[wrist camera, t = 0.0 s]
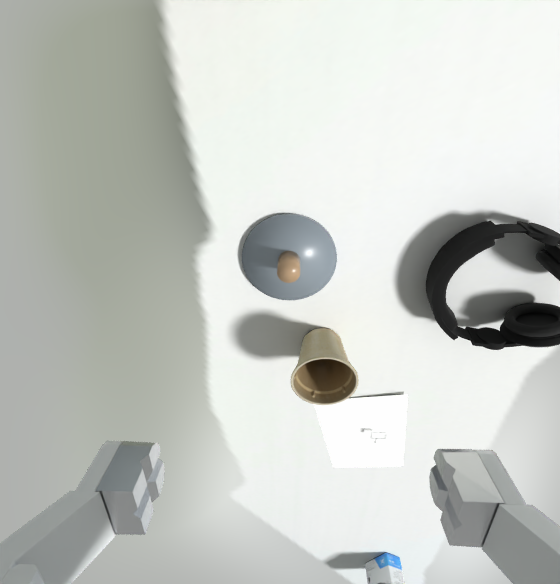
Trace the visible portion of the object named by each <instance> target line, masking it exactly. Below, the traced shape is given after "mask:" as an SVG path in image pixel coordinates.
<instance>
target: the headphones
mask: <svg viewBox="0 0 560 584" xmlns="http://www.w3.org/2000/svg"><path fill="white" fill-rule="evenodd" d="M504 233H526V234H527V235H528V236H530V237H532V238H534V239H536V240H538V241H540V242H543V243H545V246H544V248H545V250H546V251H545V250H544V249H543V250H544V251H540V252H538V253H537V254H536V259H537V261H538V262H539V263H540V264H541V265H542V266H544V267H545V268H546V269H547V270H548V271H549V272H550V273H551V274H553V275H554V276H555V277H556V278H557V279H558V280H559V281H560V234H559V233H557V232H555V231H553V230H551V229H549V228H547V227H544V226H541V225H538V224H535V223H529V224H527V223H523V222H519V221H518V222H517V224H498V225H495V224H494V223H493V222H491V221H487V222H483V223H480V224H477V225H474V226H472V227H470V228H467V229H465V230H463V231H461V232H460V233H458V234H457V235H455V236H454V237H453V238H452V239H450V240H449V241H448V242H447V243H446V244H445V245H444V246H443V247H442V248H441V249H440V250H439V252H438V253H437V255H436V256H435V258H434V259H433V261H432V263H431V265H430V268H429V271H428V275H427V280H426V292H427V296H428V299H429V302H430V305H431V308H432V311H433V314H434V316H435V319H436V321H437V323H438V324H439V326H440V327H441V328H442V329H443V331H444V332H445V333H446V334H447V335H448V336H449V337H451V338H452V339H453V340H455V339H456V338H458V336H459V337H462V338H464V339H467V340H470V341H471V343H472V345H475V346H483V347H485V348H488V349H492V350H500V349H503V348H504V347H514V346H529V347H551V346H556V345H559V344H560V307H558V306H555V305H551V304H544V303H529V304H523V305H520V306H517V307H514V308H513V309H511V310H510V311H508V312H507V314H506V315H505V317H504V322H503V323H502V324H501V326H500V331H499V330H496V329H493V328H487V327H485V328H480V329H476V328H471V327H466V328H465V329H463V328H460V327H458V326H457V321H456V318H455V315H454V313H453V312H452V310H451V309H450V308H449V307H448V305H447V304H446V289H447V285H448V283H449V281H450V279H451V277H452V276H453V274H454V273H455V272H456V270H457V269H458V268H459V267H460V266H461V265H463V264H464V263H465V262H466V261H468V260H469V259H471V258H472V257H474V256H475V255H477V254H478V253H480V252H482V251H484V250H485V249H487V248H489V247H492V246H493V245H495V241H494V240H495V239H499V238H503V237H504ZM558 244H559V245H558ZM547 253H548V254H547Z"/></svg>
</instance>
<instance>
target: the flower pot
mask: <svg viewBox="0 0 560 584" xmlns="http://www.w3.org/2000/svg"><path fill="white" fill-rule="evenodd" d="M291 386H292V389H293V391H294V392H295V394H296V395H297V396H299V397H300V398H301V399H303V400H304V401H306V402H309V403H312V404H316V405H332V404H336V403H340V402H342V401H345V400H346V399H348V398H349V397H350V396H351V395H352V394H353V393H354V392H355V391H356V389H357V386H358V375H357V372H356V370H355V369H354V367H353V366H352V365H351V364H350V362H349V361H348V359H347V356H346V353H345V350H344V347H343V345H342V342H341V339H340V337H339V336H338V335H337V334H336V333H335V332H334V331H333V330H330V329H326V328H318V329H314V330H312V331H311V332H309V333H308V334H307V335H305V336H304V338H303V341H302V346H301V351H300V356H299V361H298V364H297V366H296V368H295V369H294V371H293V373H292V376H291Z"/></svg>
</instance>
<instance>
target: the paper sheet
mask: <svg viewBox="0 0 560 584" xmlns="http://www.w3.org/2000/svg"><path fill="white" fill-rule="evenodd" d="M407 404H408V394H406V395H391V396H377V397H362V398H348V399H346V400H345V401H342V402H340V403H336V404H332V405H316V404H314V407H315V410H316V414H317V417H318V420H319V423H320V427H321V430H322V433H323V436H324V439H325V443H326V446H327V449H328V452H329V456H330V459H331V462H332V465H333V468H356V467H403V463H404V448H405V434H406V419H407Z"/></svg>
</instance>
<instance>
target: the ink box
mask: <svg viewBox="0 0 560 584" xmlns="http://www.w3.org/2000/svg"><path fill="white" fill-rule="evenodd" d="M365 567H366V574H367V582H368V584H405V582H404V577H403V572H402V567H401V562H400V558H399V557H397V556H394V555H391V554H388V553H384V554H382V555H380V556H378V557H377V558H375V559H373V560H371V561H369V562H367V563H365Z"/></svg>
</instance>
